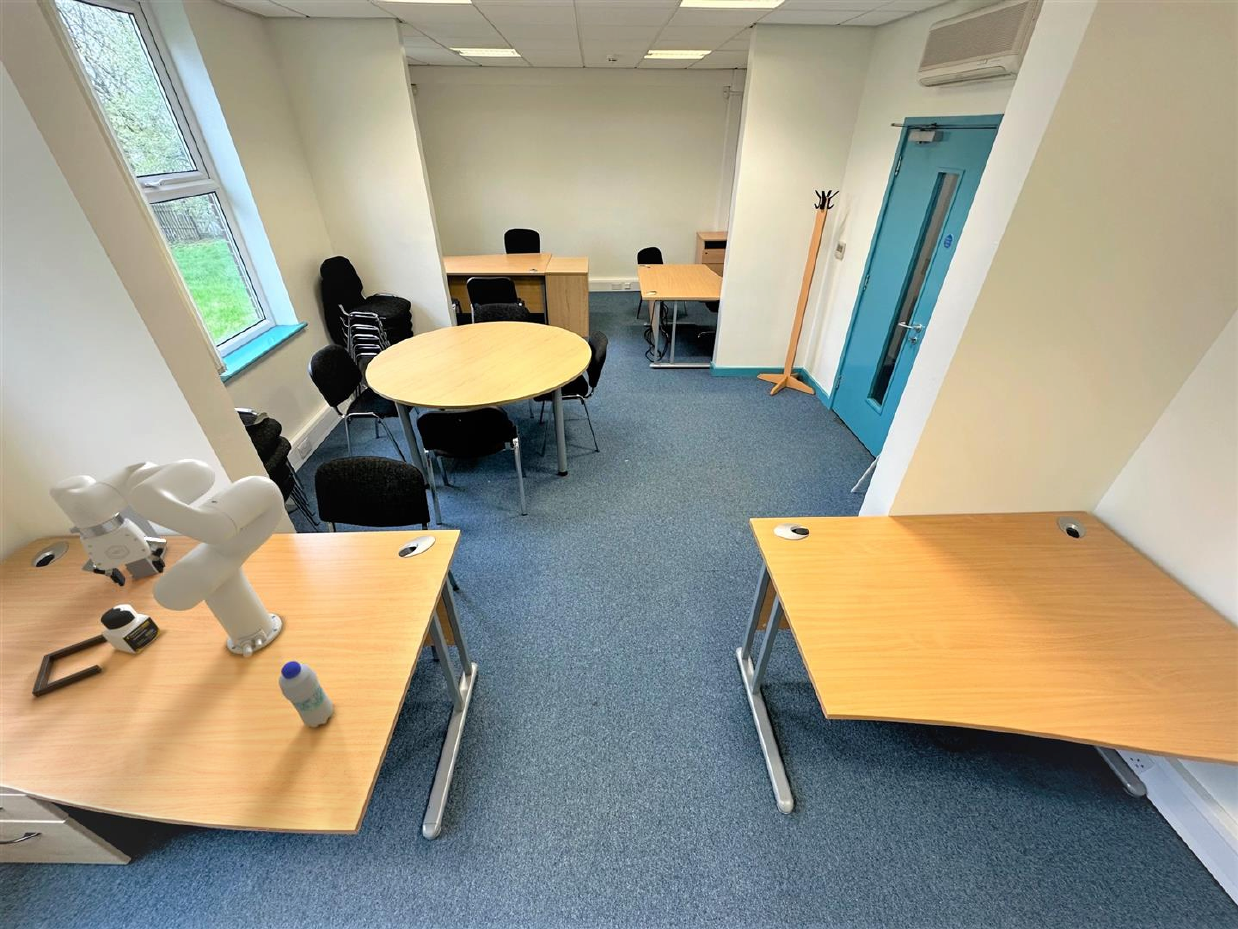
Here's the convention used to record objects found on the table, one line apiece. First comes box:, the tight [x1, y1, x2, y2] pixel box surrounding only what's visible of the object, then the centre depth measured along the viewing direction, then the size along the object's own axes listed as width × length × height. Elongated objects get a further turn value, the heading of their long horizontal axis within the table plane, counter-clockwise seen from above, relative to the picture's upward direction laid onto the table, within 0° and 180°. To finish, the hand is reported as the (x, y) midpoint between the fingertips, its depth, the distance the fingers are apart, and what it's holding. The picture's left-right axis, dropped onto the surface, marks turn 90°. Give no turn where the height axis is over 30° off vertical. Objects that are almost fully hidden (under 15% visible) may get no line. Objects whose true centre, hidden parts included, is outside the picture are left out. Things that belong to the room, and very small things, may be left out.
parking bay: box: [31, 634, 109, 699], centre depth 124 cm, size 13×12×2 cm
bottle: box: [278, 660, 334, 728], centre depth 108 cm, size 7×7×20 cm
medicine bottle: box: [100, 604, 163, 655], centre depth 128 cm, size 7×7×12 cm
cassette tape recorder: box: [119, 505, 167, 581], centre depth 149 cm, size 14×6×25 cm, turn 28°
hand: (142, 575), depth 125 cm, fingers open, 7 cm apart
